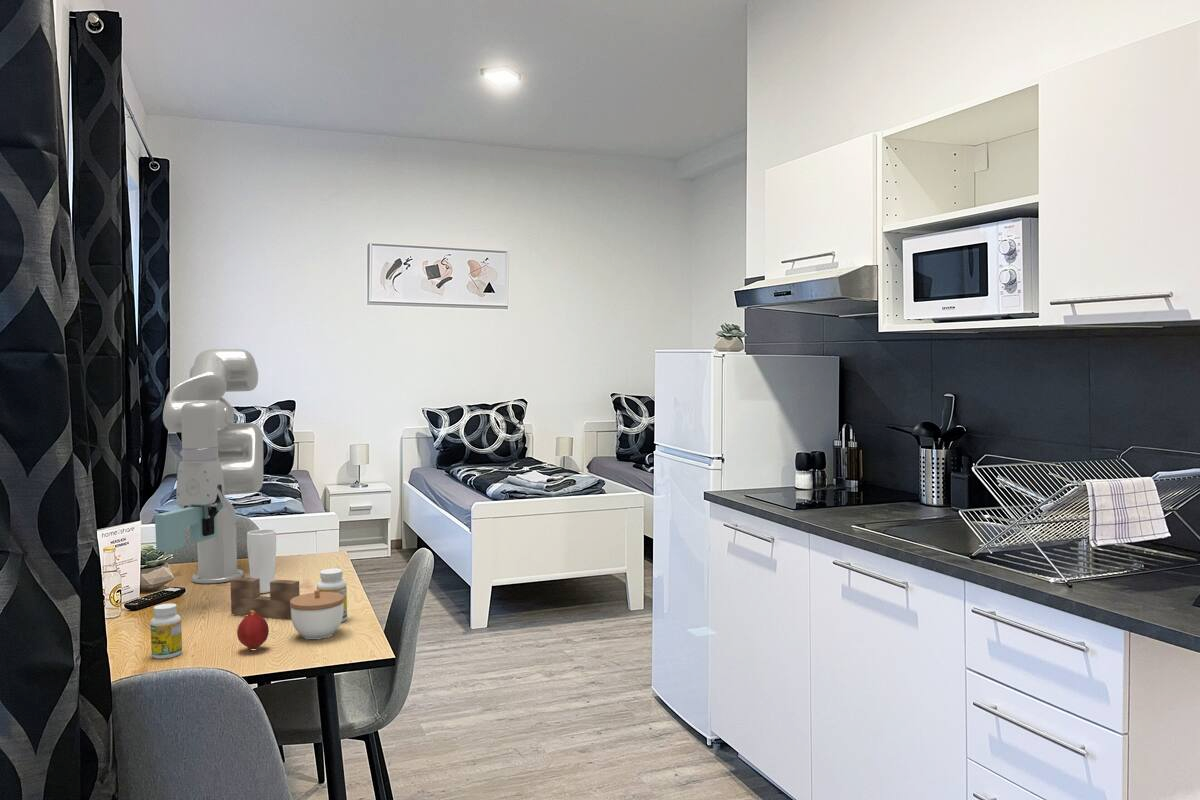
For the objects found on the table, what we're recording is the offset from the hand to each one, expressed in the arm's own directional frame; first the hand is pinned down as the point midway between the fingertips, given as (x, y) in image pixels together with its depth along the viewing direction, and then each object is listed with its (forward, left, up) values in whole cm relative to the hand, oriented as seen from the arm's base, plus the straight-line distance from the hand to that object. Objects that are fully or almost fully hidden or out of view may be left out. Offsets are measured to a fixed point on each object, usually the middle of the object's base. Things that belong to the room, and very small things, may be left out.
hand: (202, 534), depth 204 cm
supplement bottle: (+33, -10, -17) cm, 39 cm away
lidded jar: (+36, +18, -17) cm, 44 cm away
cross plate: (+3, -3, -1) cm, 5 cm away
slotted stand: (+15, +11, -17) cm, 25 cm away
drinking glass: (-8, +14, -17) cm, 24 cm away
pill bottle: (+27, +23, -17) cm, 39 cm away
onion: (+39, +5, -17) cm, 43 cm away
